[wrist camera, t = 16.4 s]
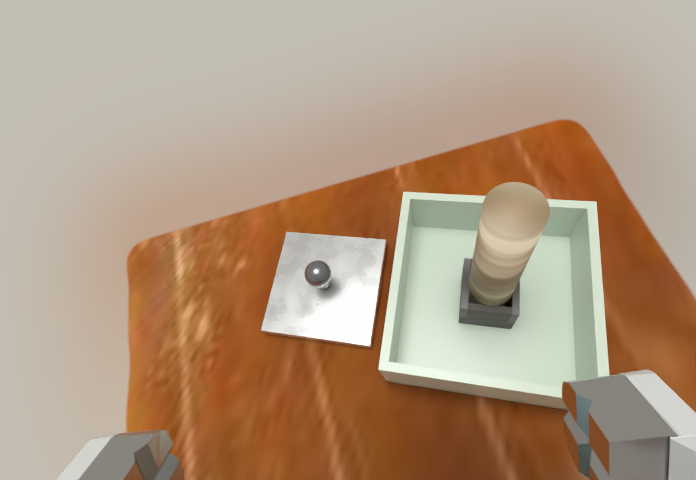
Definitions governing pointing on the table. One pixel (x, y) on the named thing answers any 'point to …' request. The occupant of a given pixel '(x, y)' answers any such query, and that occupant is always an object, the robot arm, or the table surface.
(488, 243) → the strut
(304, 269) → the stud plate
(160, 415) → the table surface
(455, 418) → the table surface
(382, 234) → the table surface
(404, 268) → the bin
